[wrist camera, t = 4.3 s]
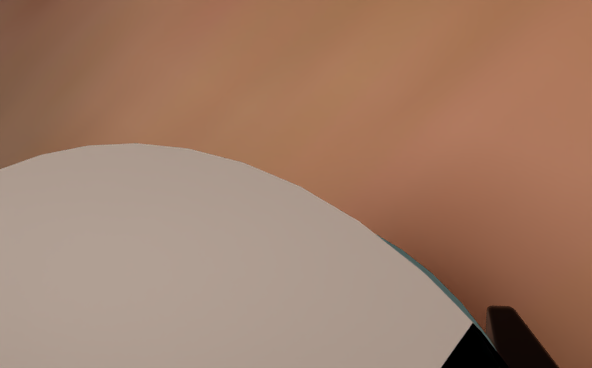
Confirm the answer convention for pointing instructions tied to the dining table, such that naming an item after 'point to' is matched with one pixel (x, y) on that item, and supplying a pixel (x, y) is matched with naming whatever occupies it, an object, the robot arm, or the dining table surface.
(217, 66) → the dining table surface
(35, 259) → the banded post
